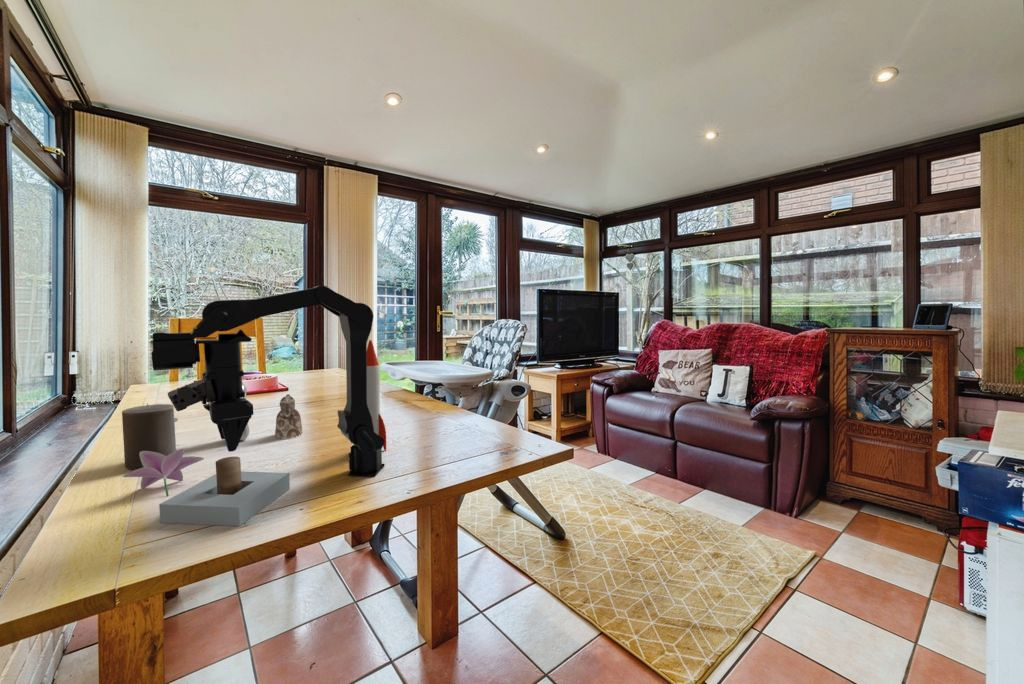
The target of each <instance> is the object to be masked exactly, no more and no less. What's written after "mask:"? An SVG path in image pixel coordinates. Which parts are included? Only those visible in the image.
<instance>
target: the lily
mask: <svg viewBox="0 0 1024 684" xmlns="http://www.w3.org/2000/svg"><path fill="white" fill-rule="evenodd" d="M184 453H185V448H184V447H183V448H179V449H176V451H175V452H173V453H171V454H169V455H168V456H165V455H163V454H160V453H157V452H151V451H141V452H140V453H139V455H140V459H141V462H142V465H143V467H144V468H140V469H135V470H132V471H130V472H128V473H125V474H124V475H122V477H123V478H138V477H139V478H141V480H140V488H141V489H145V488H147V487H149V486H151V485H153V484H154V483H156V482H158V481H160V480H162V479H163V482H164V483H163V484H164V488H165V494H166V497H168V496H169V492H168V491H169V490H168V485H167V480H173V481H178V482H181V480H182V481H183V480H184V475H183V472H182V470H183V469H184V468H187V467H188V466H191V465H194V464H196V463H199V462H201V461H203V460H204V459H205V458H204V457H201V456H189V455H188V456H184Z"/></svg>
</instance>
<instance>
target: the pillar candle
mask: <svg viewBox="0 0 1024 684" xmlns="http://www.w3.org/2000/svg"><path fill="white" fill-rule="evenodd" d="M121 418H122V419H121V422H122V434H123V435H122V436H123V439H122V440H123V451H124V452H123V454H124V455H123V457H124V467H125V468H126V469H127V468H128V469H127V470H132V469H134V470H137V469H140V468H144V467H143V465H142V462H141V459H140V455H139V453H140V452H141V451H151V452H157V453H160V454H163V455H165V456H168V455H169V454H171V453H173V452H175V451H177V445H176V441H177V440H176V425H175V407H174V405H173V404H169V403H168V404H167V403H166V404H164V403H163V404H162V403H161V404H148V402H146V405H138V406H133V407H130V408H126V409H123V410H121ZM134 470H133V471H134Z"/></svg>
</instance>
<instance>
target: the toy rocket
mask: <svg viewBox="0 0 1024 684" xmlns="http://www.w3.org/2000/svg"><path fill="white" fill-rule="evenodd" d="M367 343H368V344H367V405H368V408H369V411H370V414H371V417H372V422H373V427H374V432H375V433H376V434H378V435H379V436H380V437H382V438H383V439H384V444H383V447H382V448H383V451H385V450H386V451H387V429H386V425H385V422H384V419H383V417H382V415H381V409H380V408H381V407H380V406H381V405H380V404H381V403H380V402H381V400H380V399H381V384H380V383H381V382H380V381H381V380H380V379H381V375H380V374H381V370H380V364H379V360H378V358H377V355H376V354H377V353H376V351H375V346H374V343H373V341H372V340H371V339H370V340H368V342H367Z"/></svg>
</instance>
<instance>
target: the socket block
mask: <svg viewBox="0 0 1024 684" xmlns="http://www.w3.org/2000/svg"><path fill="white" fill-rule="evenodd" d="M241 481H242V490H240V491H238V492H237V493H235V494H234V495H223V494H217V478H216V473H215V474H213V475H211V476H210V477H208V478H205V479H204V480H202V481H200V482H198V483H197V484H194V485H193V486H191V487H189V488H187V489H185V490H183V491H182V492H180V493H178V494H176V495H174V496H172V497H170V498H168V499H167V500H165V501H163V502H161V503H159V504H158V506H159V507H158V508H159V517H160V518H159V519H160V521H159V523H161V524H182V525H206V526H227V527H241V526H242V525H243V524H245V523H246V522H247V521H249V520H250V519H252V518H253V517H254V516H255V515H257V514H258V513H259V512H261V511H262V510H264V509H265V508H266V507H267V506H269V505H271V504H272V503H273V502H274V501H276V500H277V499H278V498H279V496H280V495H281V496H283V493H284V492H285V493H286V492H287V490H288V489H289V488H290V489H291V484H290V473H289V472H274V471H273V472H272V471H271V472H269V471H267V472H265V471H244V470H243V471H242V470H241ZM290 489H289V490H290ZM289 490H288V491H289ZM285 493H284V494H285ZM281 496H280V497H281ZM276 498H277V499H276ZM275 499H276V500H275ZM271 502H272V503H271Z"/></svg>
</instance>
